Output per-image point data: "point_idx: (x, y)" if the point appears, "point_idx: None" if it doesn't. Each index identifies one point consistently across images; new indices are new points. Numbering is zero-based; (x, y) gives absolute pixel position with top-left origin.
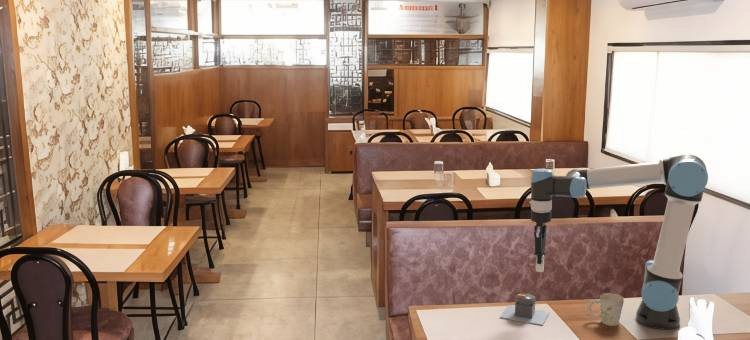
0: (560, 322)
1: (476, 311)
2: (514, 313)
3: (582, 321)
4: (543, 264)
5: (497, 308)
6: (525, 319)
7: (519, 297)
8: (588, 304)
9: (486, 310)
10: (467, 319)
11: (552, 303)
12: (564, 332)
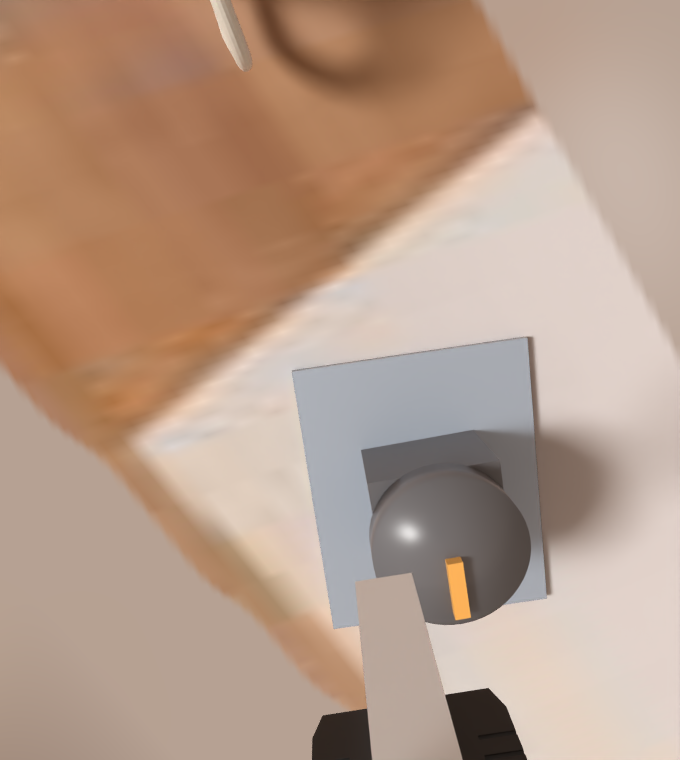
0: (405, 254)
1: (522, 733)
2: None
3: (299, 122)
4: (405, 655)
5: None
6: (502, 459)
7: (488, 589)
8: (242, 45)
9: None
10: (658, 724)
11: (106, 410)
12: (557, 176)
